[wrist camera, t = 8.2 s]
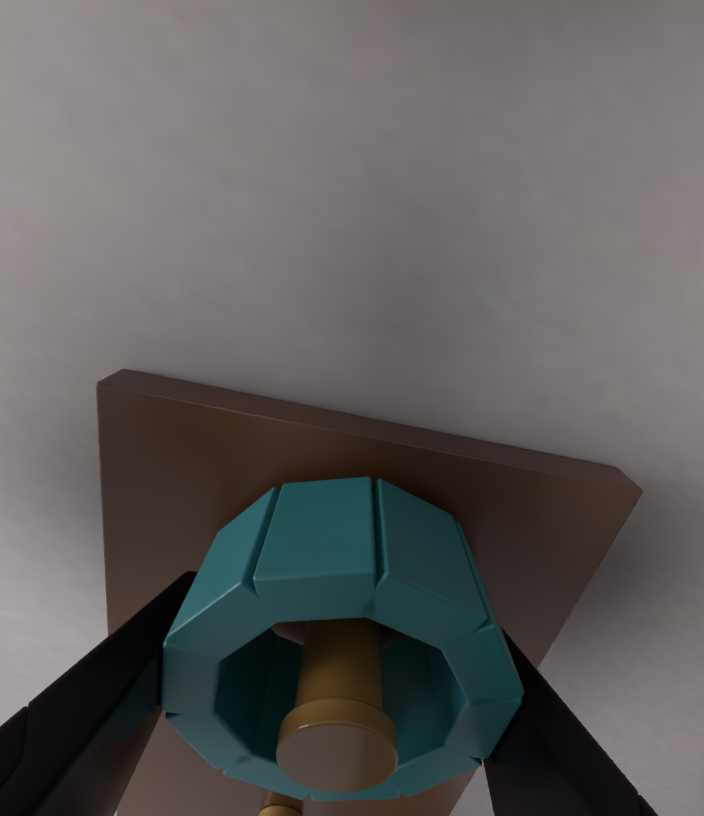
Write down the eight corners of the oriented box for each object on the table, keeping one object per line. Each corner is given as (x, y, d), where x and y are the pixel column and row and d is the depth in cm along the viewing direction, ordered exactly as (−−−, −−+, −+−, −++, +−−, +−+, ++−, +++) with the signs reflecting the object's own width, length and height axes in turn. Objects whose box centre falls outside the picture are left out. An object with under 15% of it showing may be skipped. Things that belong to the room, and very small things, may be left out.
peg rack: (618, 466, 10) (838, 657, 5) (406, 848, 17) (422, 1056, 13) (122, 367, 9) (-115, 491, 4) (131, 813, 17) (47, 1021, 12)
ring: (519, 504, 8) (583, 608, 6) (431, 695, 11) (452, 822, 9) (222, 447, 8) (163, 534, 6) (202, 659, 11) (157, 781, 8)
